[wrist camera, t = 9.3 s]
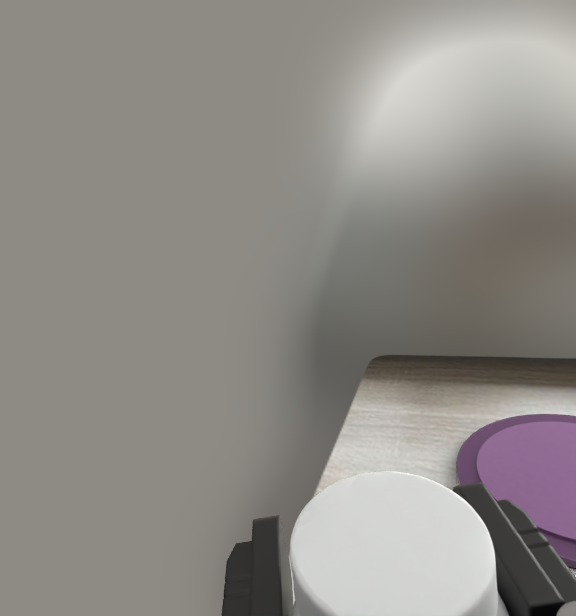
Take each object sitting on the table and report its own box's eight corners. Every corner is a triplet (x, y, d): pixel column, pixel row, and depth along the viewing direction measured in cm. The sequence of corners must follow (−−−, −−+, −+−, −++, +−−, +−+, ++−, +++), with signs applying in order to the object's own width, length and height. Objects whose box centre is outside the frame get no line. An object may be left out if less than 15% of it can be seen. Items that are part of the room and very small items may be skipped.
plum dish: (490, 579, 27) (490, 569, 27) (438, 426, 42) (438, 419, 42) (804, 574, 24) (806, 563, 24) (629, 413, 39) (630, 404, 39)
